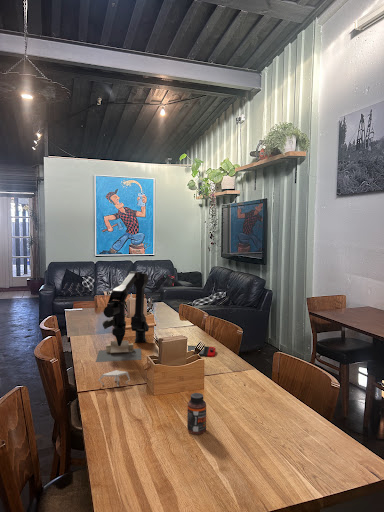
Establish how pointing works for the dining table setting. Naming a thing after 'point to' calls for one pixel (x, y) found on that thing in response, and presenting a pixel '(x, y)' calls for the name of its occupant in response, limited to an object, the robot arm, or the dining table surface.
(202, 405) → the supplement bottle
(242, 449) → the dining table surface
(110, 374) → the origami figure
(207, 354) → the gaming console
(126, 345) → the deck
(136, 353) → the mat
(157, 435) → the dining table surface
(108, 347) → the rail
